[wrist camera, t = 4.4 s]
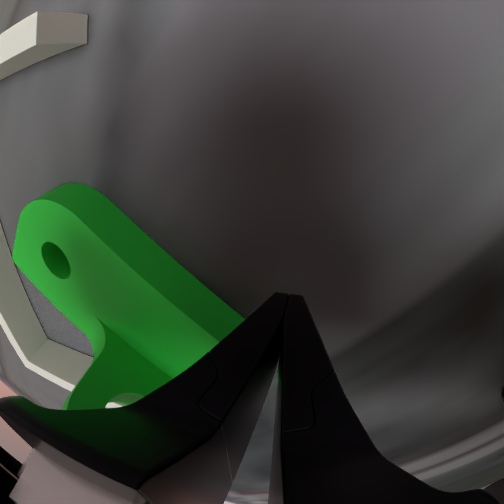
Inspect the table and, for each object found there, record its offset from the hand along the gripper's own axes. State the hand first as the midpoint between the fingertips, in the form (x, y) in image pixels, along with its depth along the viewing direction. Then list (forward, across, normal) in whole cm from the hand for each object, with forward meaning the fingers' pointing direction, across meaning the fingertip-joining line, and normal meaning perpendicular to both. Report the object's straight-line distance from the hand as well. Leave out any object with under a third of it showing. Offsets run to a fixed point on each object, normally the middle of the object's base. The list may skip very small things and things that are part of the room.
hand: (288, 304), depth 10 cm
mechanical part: (+2, +7, +2) cm, 7 cm away
